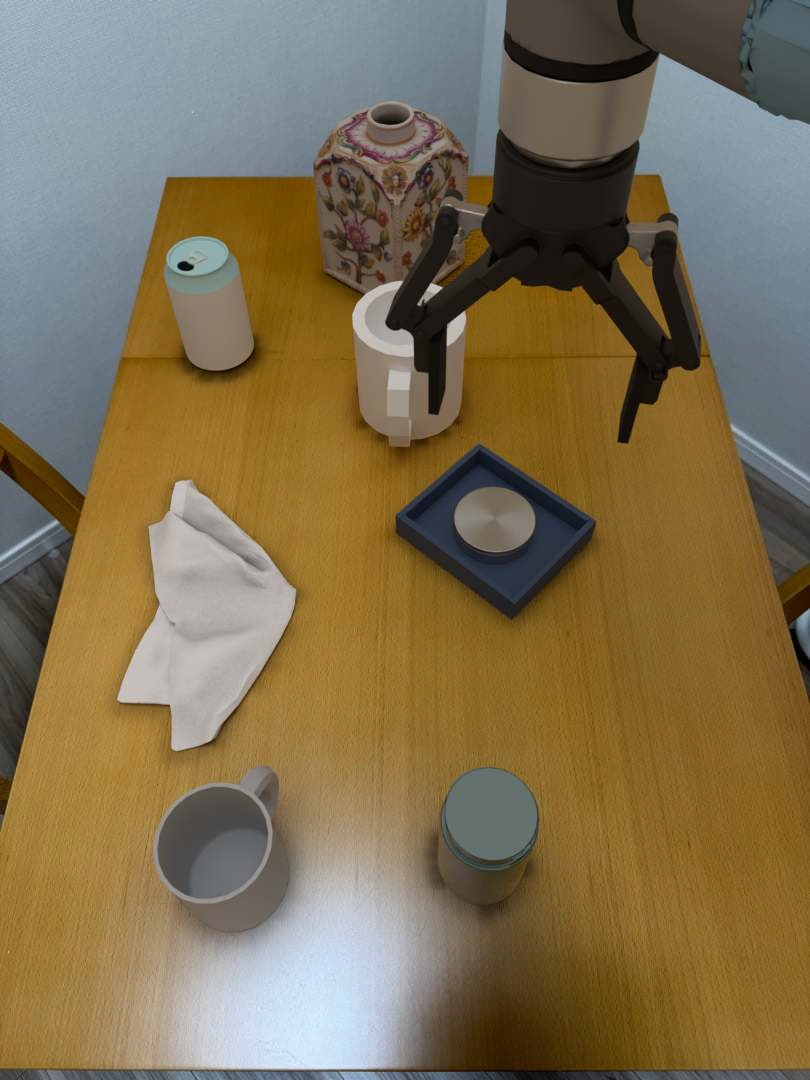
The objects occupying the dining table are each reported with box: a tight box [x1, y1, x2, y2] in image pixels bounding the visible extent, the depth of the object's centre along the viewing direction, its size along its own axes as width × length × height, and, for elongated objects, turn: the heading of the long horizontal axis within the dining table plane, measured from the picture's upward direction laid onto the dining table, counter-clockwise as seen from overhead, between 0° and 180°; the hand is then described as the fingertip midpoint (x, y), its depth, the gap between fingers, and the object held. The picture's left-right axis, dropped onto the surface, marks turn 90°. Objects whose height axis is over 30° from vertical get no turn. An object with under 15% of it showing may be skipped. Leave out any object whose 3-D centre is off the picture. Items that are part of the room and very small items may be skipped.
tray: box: [395, 442, 598, 620], centre depth 74 cm, size 13×11×3 cm
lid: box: [453, 487, 536, 564], centre depth 74 cm, size 7×7×2 cm
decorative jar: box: [312, 100, 470, 296], centre depth 90 cm, size 12×12×18 cm
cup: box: [152, 765, 290, 933], centre depth 56 cm, size 7×10×9 cm
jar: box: [437, 766, 540, 906], centre depth 55 cm, size 6×6×10 cm
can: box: [163, 235, 255, 371], centre depth 85 cm, size 7×7×12 cm
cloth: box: [116, 479, 297, 753], centre depth 71 cm, size 26×14×2 cm, turn 0°
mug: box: [351, 281, 467, 448], centre depth 80 cm, size 14×10×11 cm
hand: (529, 415), depth 62 cm, fingers open, 13 cm apart
